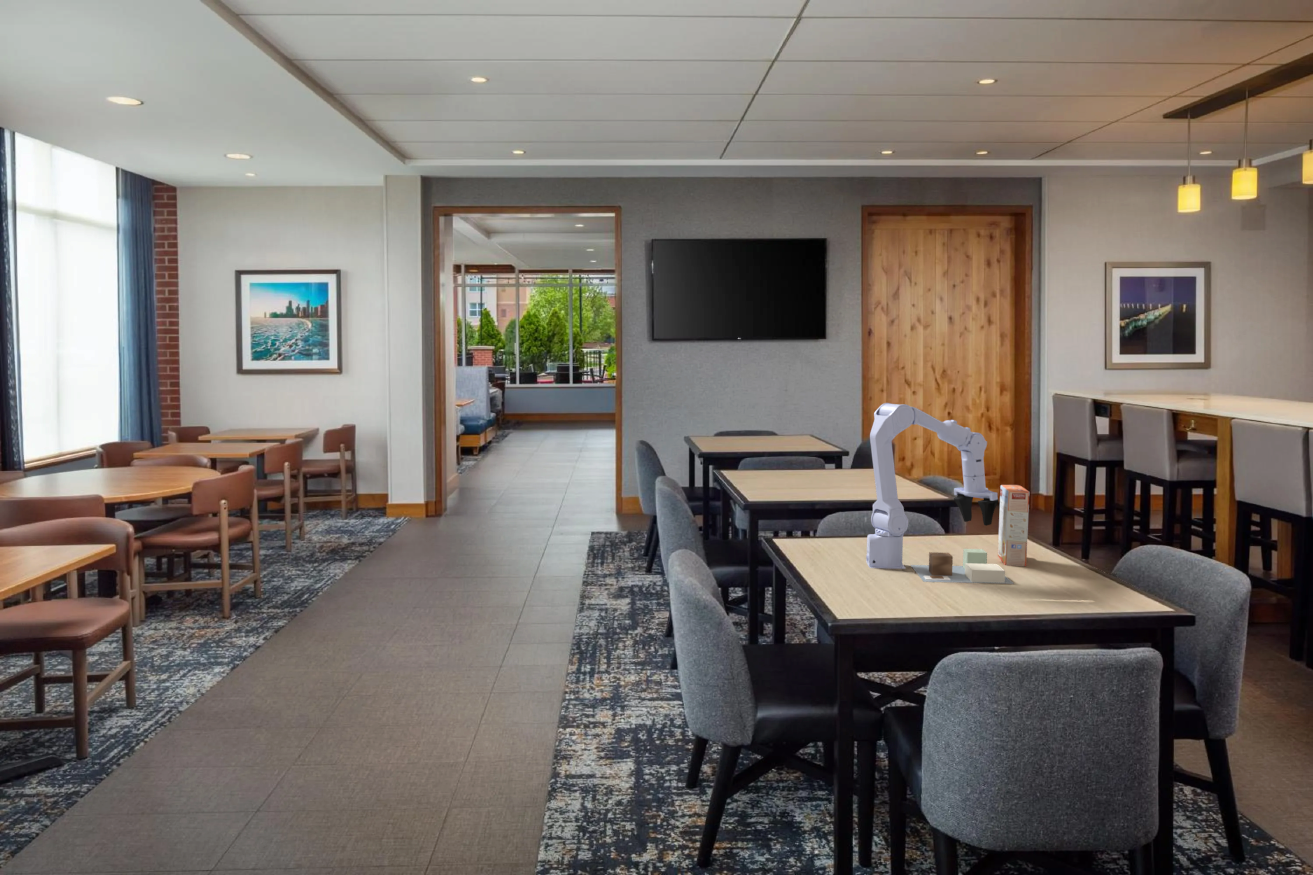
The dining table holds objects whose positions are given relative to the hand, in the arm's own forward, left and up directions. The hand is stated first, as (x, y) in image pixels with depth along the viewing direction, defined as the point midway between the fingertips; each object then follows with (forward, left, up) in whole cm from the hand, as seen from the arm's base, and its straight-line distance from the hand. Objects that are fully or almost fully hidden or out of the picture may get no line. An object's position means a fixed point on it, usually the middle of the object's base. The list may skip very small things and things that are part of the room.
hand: (977, 522), depth 273 cm
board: (-9, -20, -11) cm, 24 cm away
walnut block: (-14, -20, -10) cm, 26 cm away
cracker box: (+9, -1, -11) cm, 14 cm away
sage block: (-4, -14, -10) cm, 18 cm away
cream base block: (-4, -25, -10) cm, 27 cm away
